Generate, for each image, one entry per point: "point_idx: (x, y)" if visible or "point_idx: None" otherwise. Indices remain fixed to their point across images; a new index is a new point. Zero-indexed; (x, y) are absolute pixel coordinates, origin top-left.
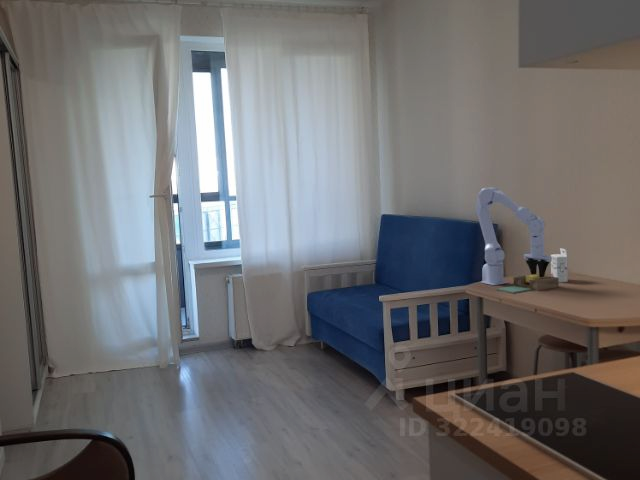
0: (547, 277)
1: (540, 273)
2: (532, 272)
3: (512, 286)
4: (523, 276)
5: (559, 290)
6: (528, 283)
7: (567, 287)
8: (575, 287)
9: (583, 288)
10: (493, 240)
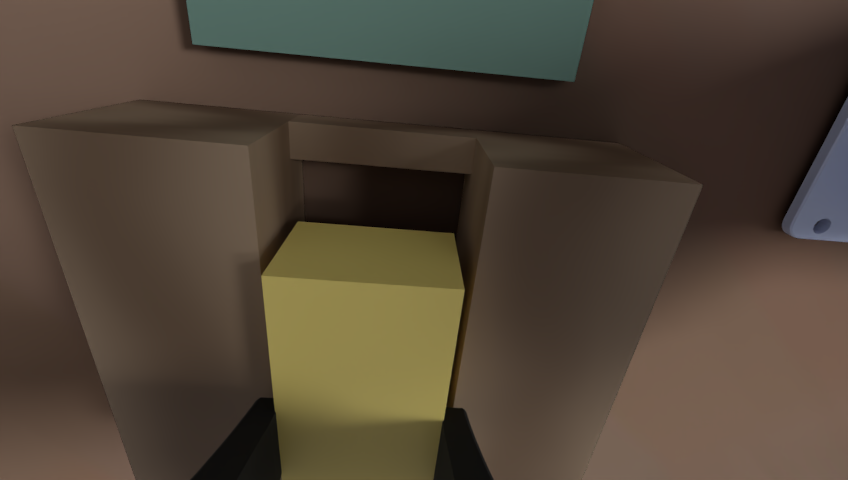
0: None
1: (219, 446)
2: (446, 458)
3: (561, 8)
4: (574, 337)
5: (16, 289)
6: None
7: None
8: (95, 467)
9: (17, 472)
10: None
